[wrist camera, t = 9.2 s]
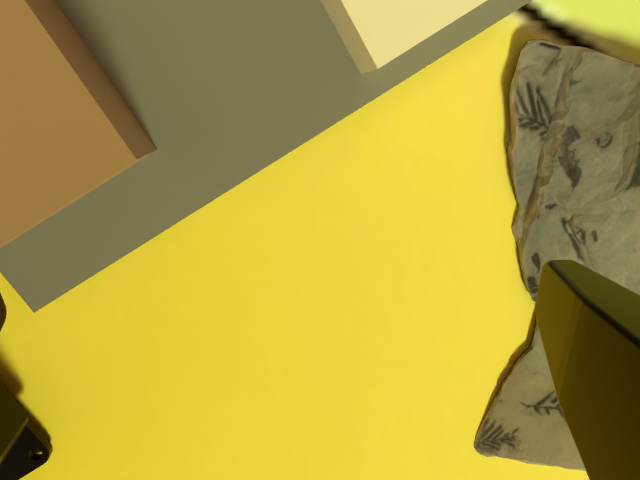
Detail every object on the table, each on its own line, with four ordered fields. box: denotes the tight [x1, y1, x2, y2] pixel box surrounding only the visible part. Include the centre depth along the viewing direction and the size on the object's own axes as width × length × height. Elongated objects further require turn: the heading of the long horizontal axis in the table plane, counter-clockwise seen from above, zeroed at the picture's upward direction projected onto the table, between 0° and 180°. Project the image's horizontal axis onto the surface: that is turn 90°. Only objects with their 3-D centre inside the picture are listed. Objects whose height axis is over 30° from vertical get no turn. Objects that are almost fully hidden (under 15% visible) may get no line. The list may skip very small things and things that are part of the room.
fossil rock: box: [474, 39, 640, 471], centre depth 24 cm, size 18×15×2 cm
